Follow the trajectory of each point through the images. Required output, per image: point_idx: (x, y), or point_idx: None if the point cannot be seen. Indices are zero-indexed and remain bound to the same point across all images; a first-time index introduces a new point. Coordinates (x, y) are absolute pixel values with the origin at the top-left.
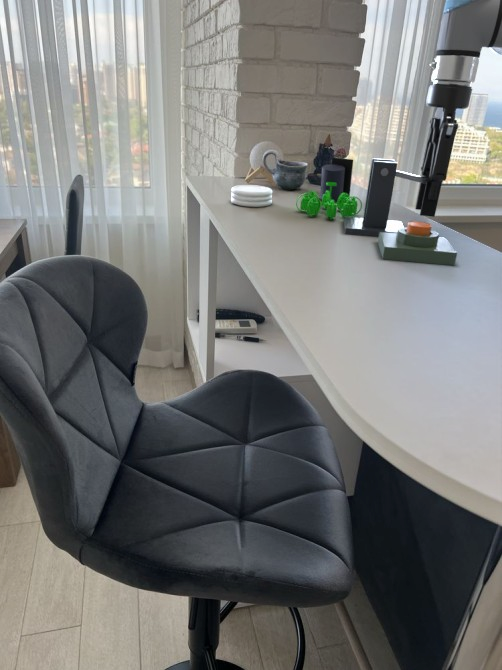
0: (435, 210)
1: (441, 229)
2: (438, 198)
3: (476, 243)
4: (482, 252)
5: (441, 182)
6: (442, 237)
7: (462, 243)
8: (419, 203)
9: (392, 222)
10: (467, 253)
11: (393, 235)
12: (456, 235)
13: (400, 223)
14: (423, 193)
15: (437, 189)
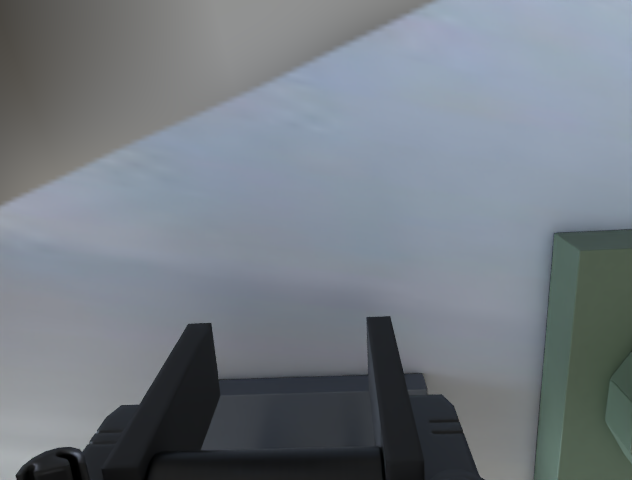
0: (394, 336)
1: (139, 179)
2: (403, 377)
3: (383, 26)
4: (567, 30)
5: (467, 476)
6: (586, 264)
7: (410, 110)
8: (211, 405)
9: (231, 435)
10: (605, 119)
11: (605, 477)
12: (243, 114)
13: (236, 402)
14: (190, 438)
15: (468, 453)
